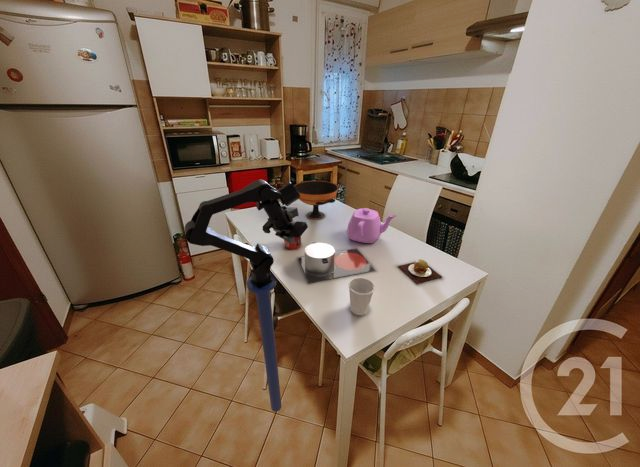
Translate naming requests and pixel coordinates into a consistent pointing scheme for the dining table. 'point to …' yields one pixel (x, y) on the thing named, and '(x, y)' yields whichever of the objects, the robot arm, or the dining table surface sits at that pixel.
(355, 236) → the teapot
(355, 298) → the dixie cup
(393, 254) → the dining table surface
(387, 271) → the dining table surface
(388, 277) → the dining table surface
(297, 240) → the canned food
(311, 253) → the pot
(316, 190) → the orange pedestal bowl
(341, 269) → the hob
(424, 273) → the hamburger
